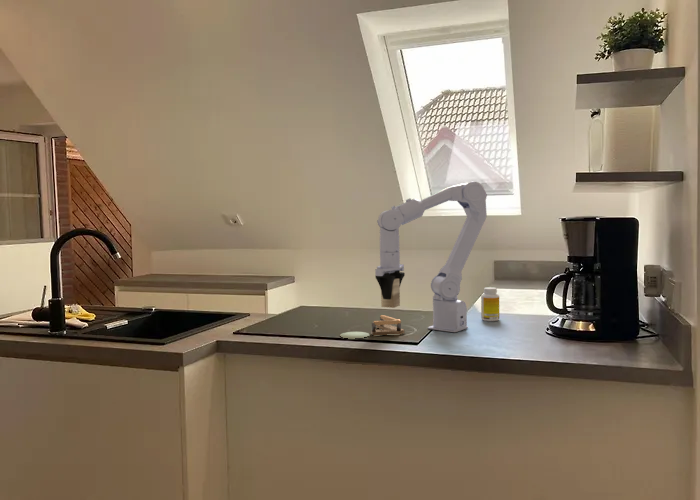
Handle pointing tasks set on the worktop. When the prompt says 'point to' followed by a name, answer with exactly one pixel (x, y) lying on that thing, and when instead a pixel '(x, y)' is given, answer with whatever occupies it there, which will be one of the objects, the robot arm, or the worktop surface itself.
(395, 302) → the birch handle block
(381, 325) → the copper rod course
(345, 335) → the pad
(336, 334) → the worktop surface
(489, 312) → the supplement bottle
